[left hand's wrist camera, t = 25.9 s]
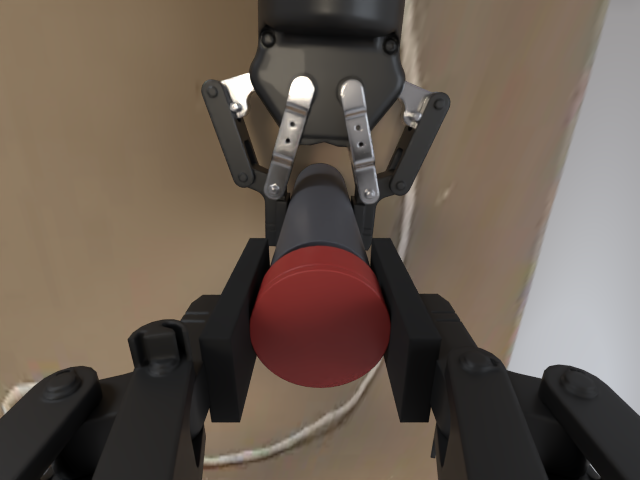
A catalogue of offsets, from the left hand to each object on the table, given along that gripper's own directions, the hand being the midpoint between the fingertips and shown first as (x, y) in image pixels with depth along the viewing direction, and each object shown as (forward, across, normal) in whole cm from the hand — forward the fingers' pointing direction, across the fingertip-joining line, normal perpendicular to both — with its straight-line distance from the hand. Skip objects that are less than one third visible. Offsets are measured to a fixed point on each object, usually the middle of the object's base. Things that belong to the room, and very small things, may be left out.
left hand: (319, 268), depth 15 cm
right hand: (+8, 0, -3) cm, 9 cm away
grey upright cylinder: (+14, 0, 0) cm, 14 cm away
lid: (-4, 0, 0) cm, 4 cm away
